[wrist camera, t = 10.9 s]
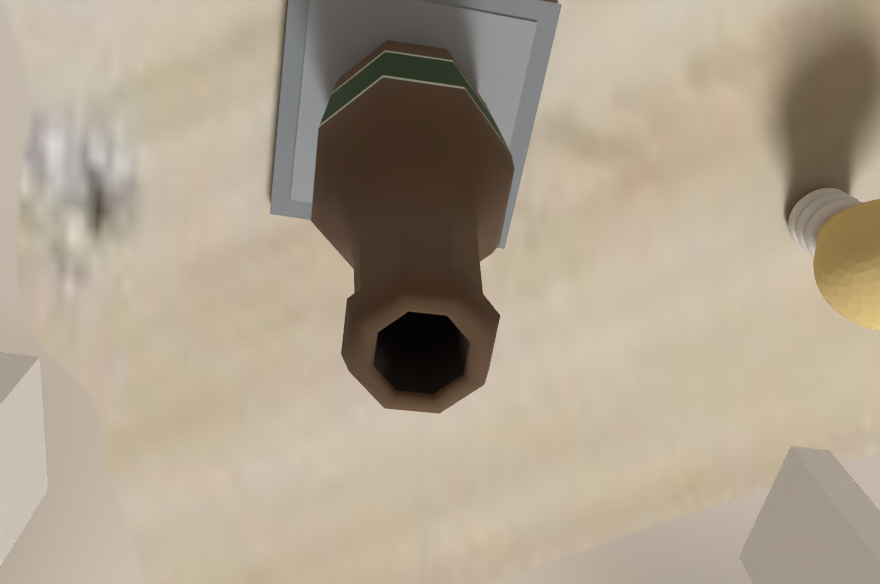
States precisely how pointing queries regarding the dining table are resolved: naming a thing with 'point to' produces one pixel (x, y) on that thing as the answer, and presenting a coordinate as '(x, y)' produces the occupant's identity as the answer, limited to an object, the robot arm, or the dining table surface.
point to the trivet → (416, 22)
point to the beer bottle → (413, 222)
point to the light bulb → (842, 251)
